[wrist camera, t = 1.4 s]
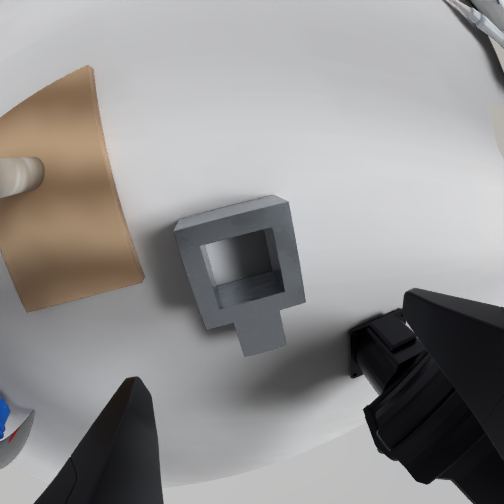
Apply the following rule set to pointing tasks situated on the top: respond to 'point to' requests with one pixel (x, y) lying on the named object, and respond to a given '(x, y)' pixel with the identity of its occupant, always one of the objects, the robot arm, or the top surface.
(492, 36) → the toy
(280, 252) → the link
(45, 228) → the board
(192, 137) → the top surface
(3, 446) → the toy rocket
